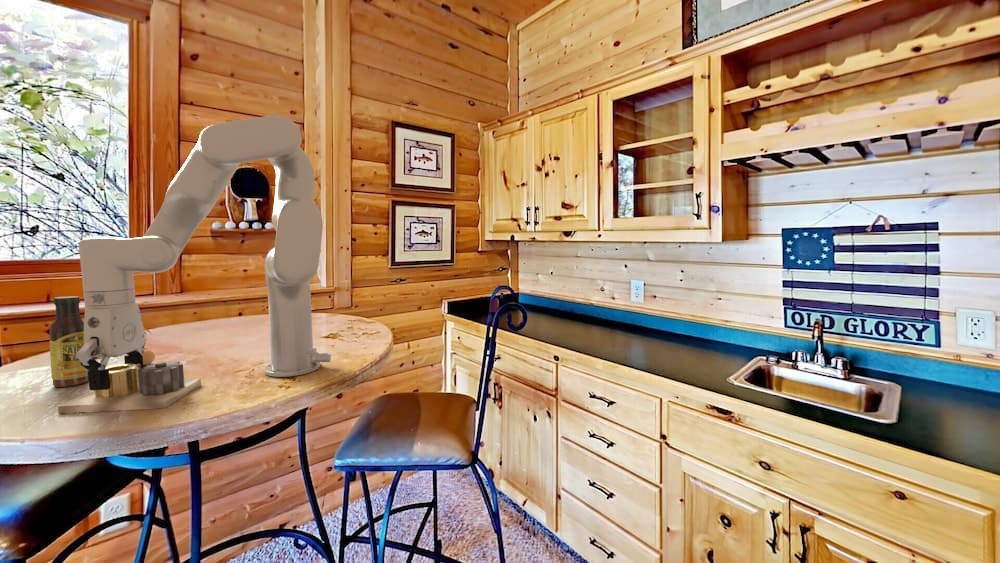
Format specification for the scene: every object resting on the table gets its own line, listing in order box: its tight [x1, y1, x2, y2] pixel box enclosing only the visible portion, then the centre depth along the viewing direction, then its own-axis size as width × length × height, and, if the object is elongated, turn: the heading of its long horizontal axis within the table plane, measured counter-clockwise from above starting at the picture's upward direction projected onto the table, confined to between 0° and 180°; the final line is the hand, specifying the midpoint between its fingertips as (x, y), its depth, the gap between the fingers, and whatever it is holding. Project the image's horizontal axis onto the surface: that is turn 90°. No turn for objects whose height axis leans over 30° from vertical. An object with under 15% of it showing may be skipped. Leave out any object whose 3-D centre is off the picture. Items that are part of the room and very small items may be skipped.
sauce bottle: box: [48, 295, 89, 388], centre depth 94 cm, size 6×6×20 cm
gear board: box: [57, 361, 202, 415], centre depth 86 cm, size 18×13×7 cm
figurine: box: [141, 325, 156, 366], centre depth 108 cm, size 8×6×12 cm
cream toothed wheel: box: [94, 363, 141, 399], centre depth 86 cm, size 7×7×5 cm
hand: (118, 381), depth 86 cm, fingers open, 9 cm apart
